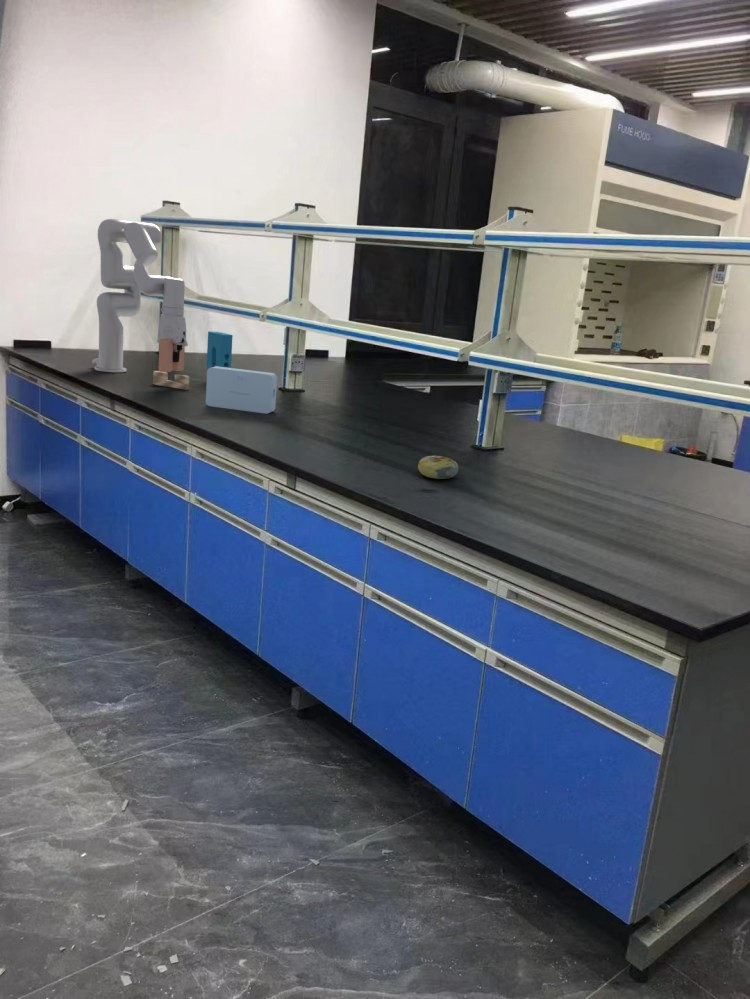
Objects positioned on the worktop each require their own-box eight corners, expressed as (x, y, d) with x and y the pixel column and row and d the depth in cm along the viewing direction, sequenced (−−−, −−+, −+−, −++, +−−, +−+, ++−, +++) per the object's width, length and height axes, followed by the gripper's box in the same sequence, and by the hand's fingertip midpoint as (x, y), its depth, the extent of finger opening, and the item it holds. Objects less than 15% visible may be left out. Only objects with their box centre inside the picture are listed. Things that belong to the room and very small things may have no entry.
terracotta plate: (158, 371, 319) (159, 338, 315) (177, 369, 329) (178, 337, 326) (165, 372, 318) (166, 339, 314) (183, 370, 328) (185, 338, 325)
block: (230, 385, 344) (233, 335, 339) (220, 385, 341) (222, 334, 336) (215, 380, 353) (218, 331, 348) (205, 380, 350) (207, 331, 344)
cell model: (414, 471, 215) (418, 441, 227) (418, 495, 219) (422, 464, 231) (455, 468, 213) (457, 437, 224) (458, 492, 217) (460, 461, 229)
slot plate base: (153, 384, 327) (153, 371, 325) (155, 383, 328) (156, 370, 327) (186, 389, 322) (186, 376, 320) (188, 389, 323) (189, 376, 322)
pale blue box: (204, 406, 291) (206, 367, 288) (211, 404, 297) (212, 365, 293) (269, 414, 288) (272, 375, 284) (274, 412, 293) (277, 373, 290)
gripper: (148, 309, 317) (147, 359, 322) (186, 314, 312) (184, 364, 316) (161, 309, 324) (159, 358, 329) (197, 314, 318) (195, 363, 323)
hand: (171, 361), depth 322 cm, fingers closed on terracotta plate, 3 cm apart
